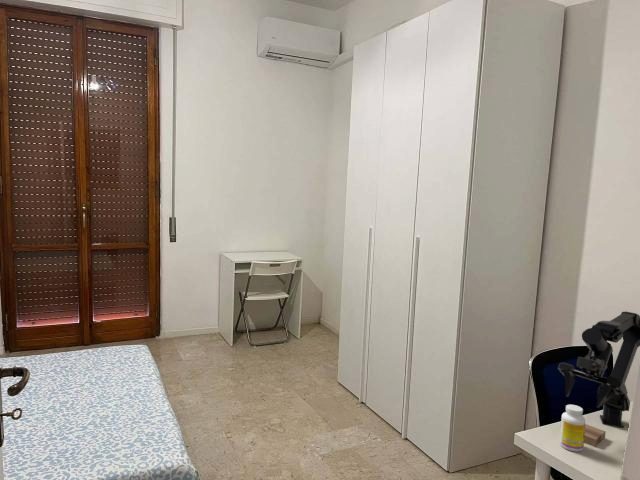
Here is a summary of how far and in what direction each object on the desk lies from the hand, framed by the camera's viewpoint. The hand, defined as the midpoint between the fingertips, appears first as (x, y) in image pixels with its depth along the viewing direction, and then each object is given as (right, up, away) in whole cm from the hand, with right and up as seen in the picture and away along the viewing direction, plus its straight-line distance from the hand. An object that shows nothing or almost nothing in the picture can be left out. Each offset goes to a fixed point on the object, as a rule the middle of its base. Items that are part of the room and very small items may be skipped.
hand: (581, 401), depth 146 cm
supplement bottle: (-3, -14, 0) cm, 15 cm away
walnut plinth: (+5, -14, +6) cm, 16 cm away
